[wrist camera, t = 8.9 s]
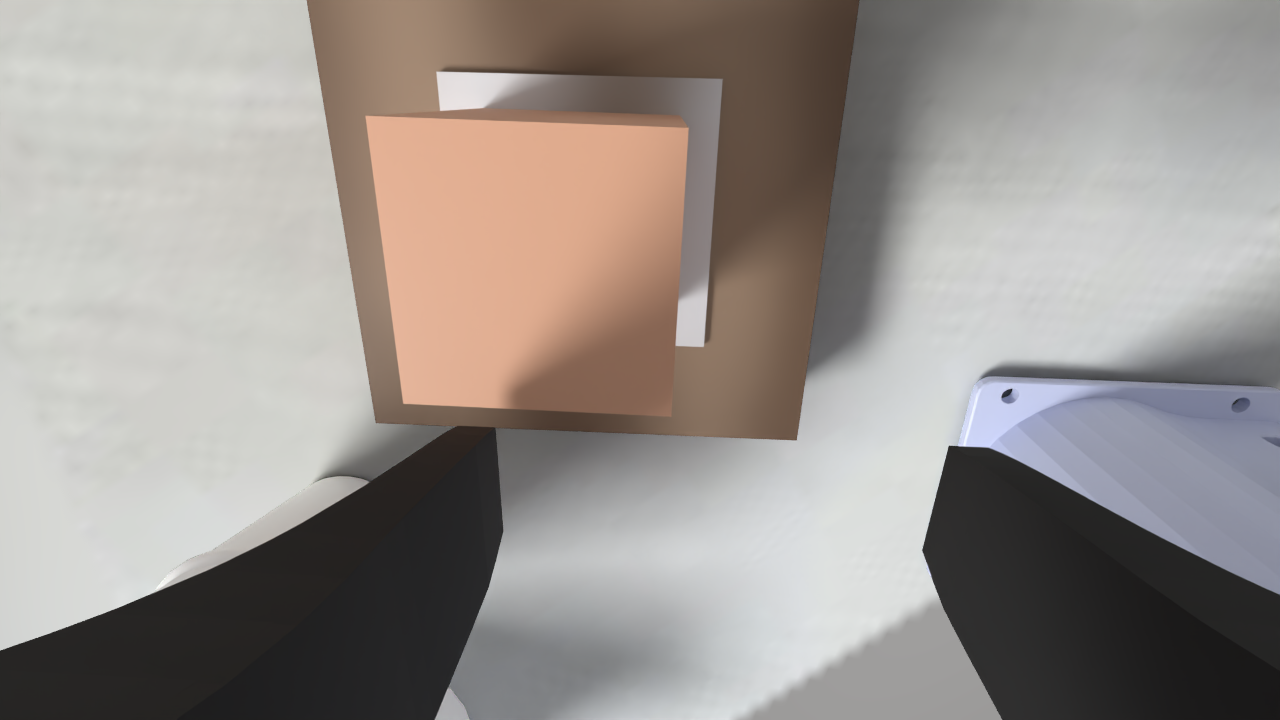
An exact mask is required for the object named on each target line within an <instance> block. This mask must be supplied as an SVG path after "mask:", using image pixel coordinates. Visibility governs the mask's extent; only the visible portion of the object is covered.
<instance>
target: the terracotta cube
mask: <svg viewBox="0 0 1280 720" xmlns="http://www.w3.org/2000/svg"><path fill="white" fill-rule="evenodd" d="M365 117H366V124H367V132H368V139H369V147H370V155H371V162H372V170H373V177H374V185H375V193H376V200H377V208H378V215H379V223H380V231H381V238H382V246H383V253H384V261H385V269H386V276H387V284H388V291H389V299H390V307H391V314H392V322H393V329H394V337H395V345H396V352H397V360H398V367H399V375H400V383H401V390H402V398H403V404H420V405H440V406H461V407H482V408H502V409H523V410H544V411H564V412H585V413H605V414H626V415H647V416H667V417H671V413H672V396H673V380H674V363H675V347H676V330H677V313H678V297H679V280H680V264H681V247H682V230H683V214H684V197H685V181H686V164H687V148H688V131H689V128H688V126H687V125H686V123H685V122H684V120H683V119H682V117H681V116H680V115H657V114H630V113H603V112H576V111H549V110H522V109H495V108H476V109H461V110H446V111H431V112H416V113H401V114H385V115H370V116H365Z"/></svg>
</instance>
